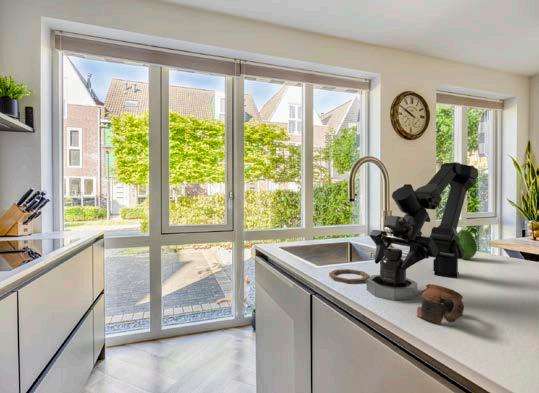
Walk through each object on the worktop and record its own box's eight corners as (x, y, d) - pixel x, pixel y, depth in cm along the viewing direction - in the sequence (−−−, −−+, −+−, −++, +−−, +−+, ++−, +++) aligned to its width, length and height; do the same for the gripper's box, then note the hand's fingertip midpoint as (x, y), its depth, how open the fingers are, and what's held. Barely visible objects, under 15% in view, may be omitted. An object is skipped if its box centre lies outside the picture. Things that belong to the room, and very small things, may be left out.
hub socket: (420, 290, 86) (420, 279, 86) (409, 303, 76) (409, 291, 76) (376, 282, 93) (376, 272, 93) (361, 293, 83) (361, 282, 83)
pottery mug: (405, 313, 71) (415, 280, 74) (440, 330, 72) (449, 296, 74) (439, 321, 60) (450, 282, 62) (481, 342, 60) (490, 302, 62)
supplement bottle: (411, 294, 82) (412, 251, 82) (391, 297, 80) (391, 253, 80) (394, 286, 89) (394, 246, 88) (374, 289, 87) (374, 248, 86)
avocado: (449, 258, 124) (449, 229, 123) (461, 256, 127) (461, 227, 127) (469, 262, 116) (469, 231, 116) (481, 260, 120) (481, 230, 119)
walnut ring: (373, 276, 100) (373, 273, 99) (360, 285, 90) (360, 282, 90) (339, 270, 107) (339, 267, 107) (324, 278, 97) (324, 275, 97)
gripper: (373, 203, 94) (348, 242, 88) (432, 206, 78) (407, 254, 72) (389, 227, 98) (366, 265, 93) (448, 234, 83) (425, 281, 77)
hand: (388, 266), depth 84 cm, fingers open, 8 cm apart
